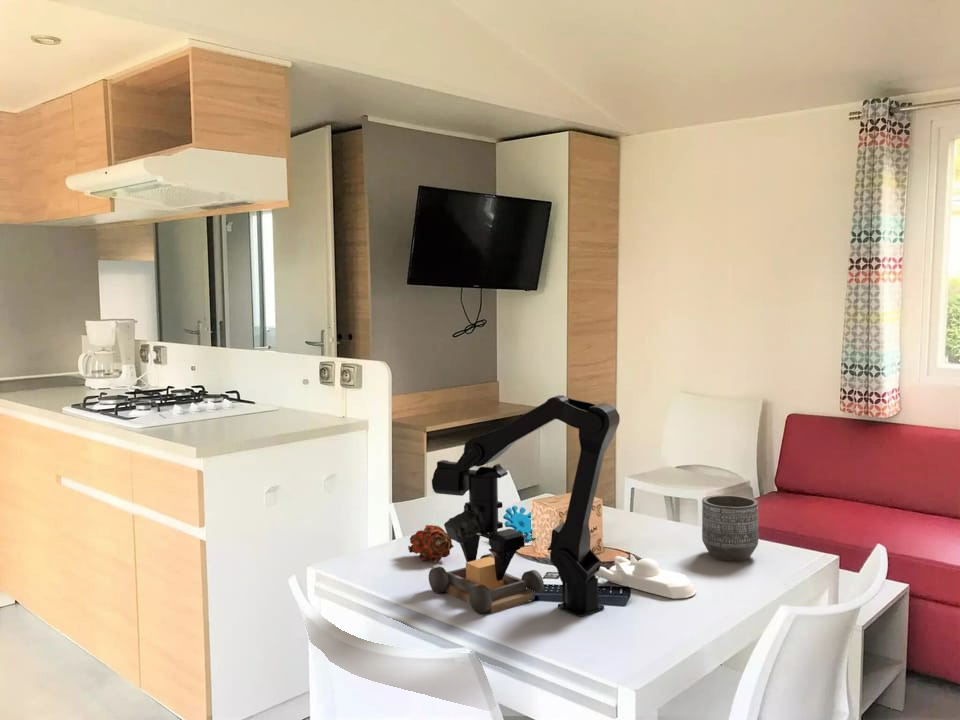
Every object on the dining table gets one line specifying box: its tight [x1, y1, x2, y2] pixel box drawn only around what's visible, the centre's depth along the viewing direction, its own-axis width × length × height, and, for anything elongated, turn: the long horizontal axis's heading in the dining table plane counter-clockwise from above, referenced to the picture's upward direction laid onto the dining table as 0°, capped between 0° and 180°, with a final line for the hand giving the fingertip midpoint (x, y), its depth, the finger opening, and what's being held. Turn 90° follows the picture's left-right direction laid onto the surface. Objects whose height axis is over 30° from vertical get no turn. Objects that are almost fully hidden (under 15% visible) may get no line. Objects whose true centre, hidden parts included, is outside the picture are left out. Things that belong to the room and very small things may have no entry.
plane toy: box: [594, 553, 698, 599], centre depth 165 cm, size 10×20×6 cm, turn 48°
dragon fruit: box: [407, 524, 455, 562], centre depth 185 cm, size 8×8×12 cm
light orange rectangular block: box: [465, 557, 504, 590], centre depth 162 cm, size 4×6×5 cm
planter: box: [701, 494, 759, 563], centre depth 183 cm, size 12×12×13 cm
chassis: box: [428, 553, 545, 614], centre depth 162 cm, size 19×15×5 cm
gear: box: [502, 505, 532, 542], centre depth 201 cm, size 11×6×10 cm
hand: (485, 574), depth 162 cm, fingers open, 9 cm apart
